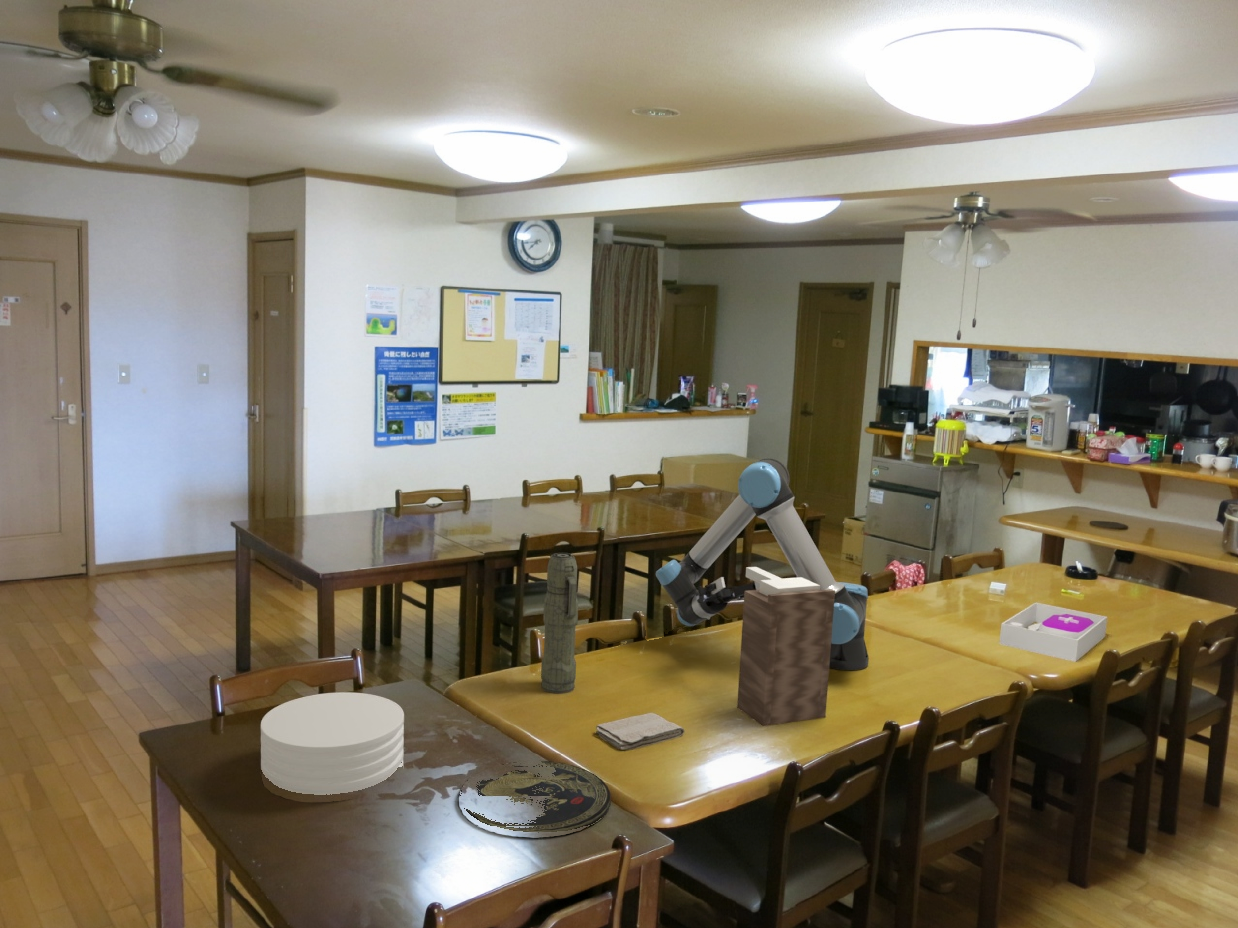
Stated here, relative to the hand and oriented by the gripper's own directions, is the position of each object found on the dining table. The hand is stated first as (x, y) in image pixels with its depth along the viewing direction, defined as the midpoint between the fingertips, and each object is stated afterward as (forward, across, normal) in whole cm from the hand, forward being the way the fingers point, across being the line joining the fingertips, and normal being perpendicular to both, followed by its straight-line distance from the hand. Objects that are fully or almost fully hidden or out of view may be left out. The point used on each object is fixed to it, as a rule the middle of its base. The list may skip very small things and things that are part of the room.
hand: (746, 580), depth 255 cm
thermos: (-25, +46, -18) cm, 56 cm away
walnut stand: (+2, -1, -34) cm, 34 cm away
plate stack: (+1, +106, -34) cm, 112 cm away
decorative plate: (+22, +71, -47) cm, 88 cm away
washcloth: (+3, +39, -36) cm, 53 cm away
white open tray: (-20, -119, -22) cm, 122 cm away
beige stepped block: (+11, -1, -5) cm, 12 cm away
